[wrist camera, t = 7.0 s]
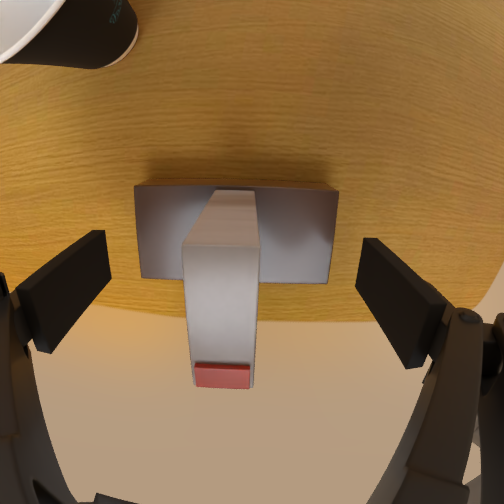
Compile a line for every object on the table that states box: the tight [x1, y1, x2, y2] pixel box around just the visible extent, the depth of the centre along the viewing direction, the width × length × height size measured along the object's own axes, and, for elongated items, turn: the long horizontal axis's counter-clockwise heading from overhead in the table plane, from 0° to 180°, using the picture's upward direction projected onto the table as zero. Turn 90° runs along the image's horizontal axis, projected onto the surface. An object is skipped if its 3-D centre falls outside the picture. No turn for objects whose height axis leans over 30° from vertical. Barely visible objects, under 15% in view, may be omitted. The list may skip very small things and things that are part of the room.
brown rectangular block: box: [134, 178, 339, 284], centre depth 19 cm, size 12×6×3 cm, turn 88°
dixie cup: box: [0, 0, 138, 69], centre depth 10 cm, size 8×8×11 cm
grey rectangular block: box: [181, 190, 261, 389], centre depth 13 cm, size 6×2×9 cm, turn 178°
